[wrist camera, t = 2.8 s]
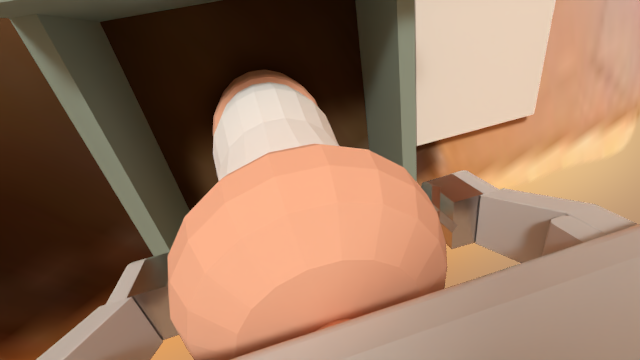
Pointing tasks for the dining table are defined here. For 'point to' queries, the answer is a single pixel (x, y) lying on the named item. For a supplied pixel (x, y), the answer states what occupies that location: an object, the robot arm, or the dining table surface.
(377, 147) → the grey open box
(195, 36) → the dining table surface
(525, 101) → the ceramic tile
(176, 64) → the dining table surface
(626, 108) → the dining table surface
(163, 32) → the dining table surface
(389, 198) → the pepper shaker
